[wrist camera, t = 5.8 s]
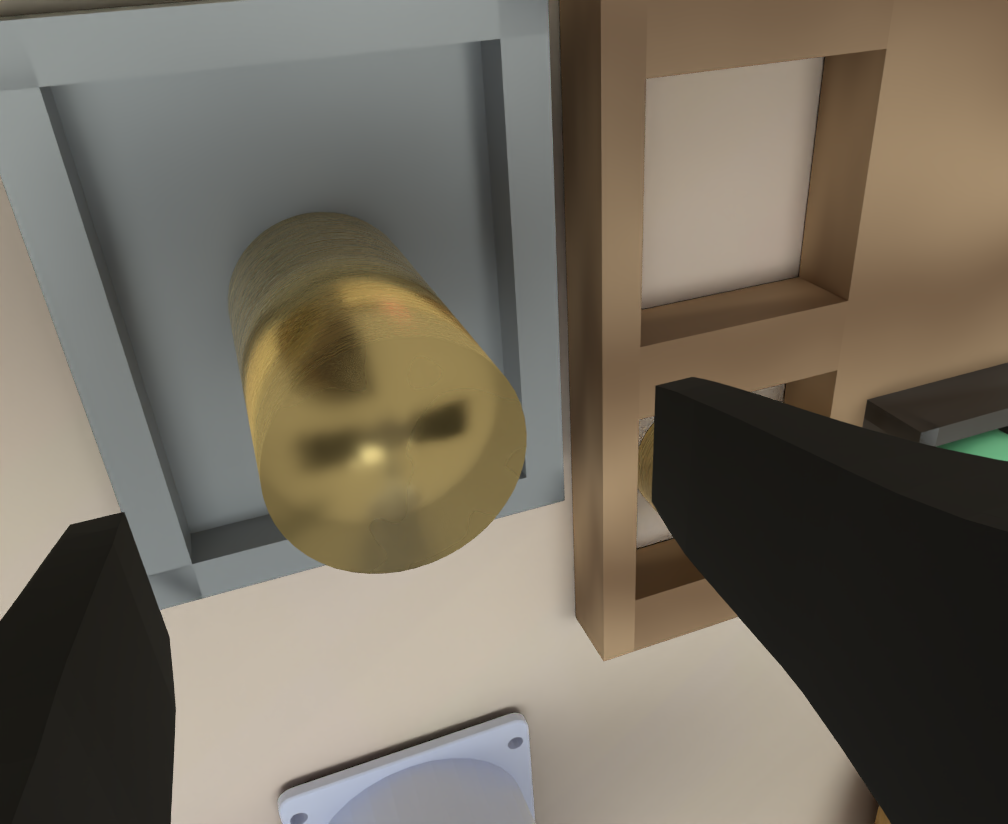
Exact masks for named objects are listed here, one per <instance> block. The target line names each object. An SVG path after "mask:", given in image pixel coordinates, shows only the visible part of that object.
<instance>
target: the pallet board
mask: <svg viewBox="0 0 1008 824" xmlns="http://www.w3.org/2000/svg"><path fill="white" fill-rule="evenodd" d="M559 9H560V47H561V84H562V121H563V159H564V196H565V234H566V271H567V308H568V346H569V383H570V420H571V458H572V495H573V533H574V570H575V607H576V618H577V620H578V622H579V623H580V625H581V626H582V628H583V629H584V631H585V633H586V634H587V636H588V637H589V639H590V640H591V642H592V644H593V645H594V647H595V648H596V650H597V651H598V653H599V655H600V656H601V658H602V659H603V661H606V660H609V659H612V658H615V657H618V656H621V655H624V654H627V653H630V652H633V651H636V650H639V649H642V648H645V647H648V646H651V645H654V644H657V643H660V642H663V641H667V640H670V639H673V638H676V637H679V636H682V635H685V634H688V633H691V632H694V631H697V630H700V629H703V628H706V627H709V626H712V625H715V624H718V623H721V622H724V621H727V620H730V619H733V618H736V617H738V616H737V615H736V613H735V612H734V611H733V610H732V609H731V608H730V607H729V605H728V604H727V603H726V602H725V601H724V600H723V599H722V597H721V596H720V595H719V594H718V593H717V592H716V590H715V589H714V588H713V587H712V586H711V585H710V583H709V582H708V581H707V580H706V579H705V578H704V576H703V575H702V574H701V573H700V572H699V571H698V569H697V568H696V567H695V566H694V565H693V563H692V562H691V561H690V560H689V559H688V557H687V556H686V555H685V554H684V552H683V551H682V549H681V548H680V546H679V545H678V543H677V542H676V540H675V539H671V540H668V541H664V542H661V543H657V544H654V545H651V546H647V547H644V548H640V549H637V550H636V536H637V488H638V439H639V420H640V419H644V418H648V417H652V416H654V413H655V386H656V385H660V384H664V383H668V382H673V381H677V380H681V379H685V378H689V377H697V378H702V379H706V380H710V381H714V382H718V383H722V384H725V385H729V386H732V387H735V388H739V389H742V390H745V391H748V392H752V391H756V390H760V389H764V388H768V387H772V386H776V385H780V384H784V383H786V388H785V396H784V403H785V404H789V405H792V406H795V407H798V408H801V409H804V410H807V411H810V412H813V413H816V414H820V415H823V416H826V417H829V418H832V419H836V420H839V421H842V422H846V423H849V424H852V425H856V426H859V427H862V428H866V429H869V430H873V431H877V432H880V433H884V434H888V435H892V436H895V437H899V438H903V439H906V440H910V441H914V442H918V443H922V444H926V445H930V446H935V447H936V446H940V445H943V444H947V443H950V442H954V441H957V440H960V439H964V438H967V437H971V436H974V435H978V434H981V433H985V432H988V431H992V430H995V429H999V430H1000V431H1002V432H1004V433H1006V434H1008V0H559ZM824 56H825V62H824V70H823V78H822V87H821V95H820V103H819V112H818V120H817V129H816V137H815V145H814V154H813V162H812V170H811V179H810V187H809V196H808V204H807V212H806V221H805V229H804V237H803V246H802V254H801V262H800V271H799V277H797V278H792V279H787V280H782V281H777V282H773V283H768V284H763V285H758V286H754V287H749V288H744V289H739V290H734V291H730V292H725V293H720V294H715V295H710V296H706V297H701V298H696V299H691V300H687V301H682V302H677V303H672V304H667V305H663V306H658V307H653V308H648V309H643V310H641V293H642V245H643V196H644V148H645V99H646V79H648V78H656V77H664V76H672V75H680V74H688V73H696V72H704V71H712V70H720V69H728V68H736V67H744V66H752V65H760V64H768V63H776V62H784V61H792V60H800V59H808V58H816V57H824Z"/></svg>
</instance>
